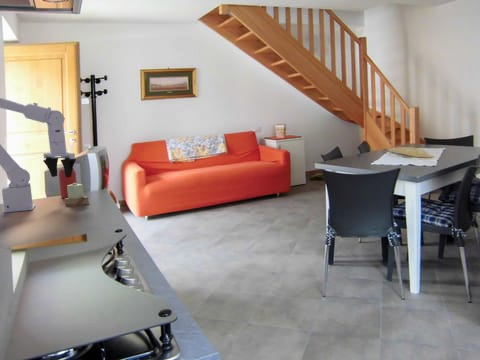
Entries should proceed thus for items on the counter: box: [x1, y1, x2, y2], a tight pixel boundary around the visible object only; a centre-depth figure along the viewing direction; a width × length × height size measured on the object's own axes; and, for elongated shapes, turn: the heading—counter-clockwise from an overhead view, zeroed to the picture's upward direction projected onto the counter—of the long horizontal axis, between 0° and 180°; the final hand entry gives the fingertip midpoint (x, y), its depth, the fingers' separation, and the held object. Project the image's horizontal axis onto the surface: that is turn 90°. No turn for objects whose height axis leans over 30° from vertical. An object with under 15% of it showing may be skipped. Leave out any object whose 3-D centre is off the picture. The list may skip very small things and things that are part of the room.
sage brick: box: [67, 182, 85, 199], centre depth 162 cm, size 4×4×6 cm
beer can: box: [58, 167, 78, 199], centre depth 177 cm, size 7×7×12 cm
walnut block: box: [64, 195, 90, 208], centre depth 163 cm, size 6×6×3 cm
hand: (61, 176), depth 165 cm, fingers open, 7 cm apart
